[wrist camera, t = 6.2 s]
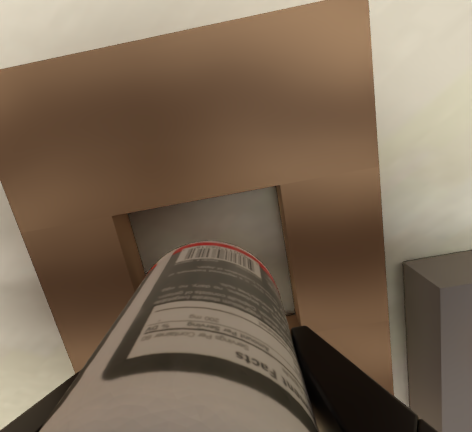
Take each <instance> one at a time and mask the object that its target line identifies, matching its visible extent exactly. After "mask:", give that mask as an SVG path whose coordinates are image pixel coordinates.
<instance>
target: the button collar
mask: <svg viewBox="0 0 472 432" xmlns="http://www.w3.org/2000/svg"><path fill="white" fill-rule="evenodd" d="M403 275H404V296H405V316H406V337H407V358H408V379H409V400H410V409H411V410H412V411H413V412H414V413H416V414H417V415H418V417H419V419H423V420H425V421H426V422H427V423H428V424H429V425H431V426H432V427H433V428H434V429H436V430H437V431H438V432H472V250H470V251H464V252H458V253H452V254H446V255H440V256H434V257H428V258H422V259H417V260H411V261H405V262H403Z"/></svg>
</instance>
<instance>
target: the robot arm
mask: <svg viewBox="0 0 472 432" xmlns="http://www.w3.org/2000/svg"><path fill="white" fill-rule="evenodd" d="M291 336H292V341H293V345H294V348H295V351H296V355H297V358H298V361H299V365H300V368H301V371H302V374H303V378H304V381H305V385H306V388H307V392H308V395H309V399H310V402H311V406H312V410H313V413H314V416H315V420H316V423H317V427H318V430H319V432H438V431H437V430H436V429H434V428H433V427H432V426H431V425H429V424H428V423H427V422H426V421H425V420H423V419H419V417H418V415H417V414H416V413H414V412H413V411H412V410H411V409H409V408H408V407H407V406H406V405H404V404H403V403H402V402H401V401H399V400H398V399H397V398H396V397H394V396H393V395H392V394H391V393H390V392H388V391H387V390H386V389H385V388H383V387H382V386H381V385H380V384H378V383H377V382H376V381H375V380H373V379H372V378H371V377H370V376H368V375H367V374H366V373H365V372H363V371H362V370H361V369H360V368H359V367H357V366H356V365H355V364H354V363H352V362H351V361H350V360H349V359H347V358H346V357H345V356H344V355H342V354H341V353H340V352H339V351H337V350H336V349H335V348H334V347H332V346H331V345H330V344H329V343H328V342H326V341H325V340H324V339H323V338H321V337H320V336H319V335H318V334H316V333H315V332H314V331H313V330H311V329H310V328H309V327H308V326H305V325H304V326H298V327H292V328H291ZM81 370H82V369H81ZM81 370H80V371H81ZM80 371H79V372H77V373H76V374H75V375H73V376H72V377H71V378H69V379H68V380H67V381H65V382H64V383H63V384H61V385H60V386H59V387H57V388H56V389H55V390H53V391H52V392H51V393H49V394H48V395H47V396H45V397H44V398H43V399H41V400H40V401H39V402H37V403H36V404H35V405H33V406H32V407H31V408H29V409H28V410H27V411H25V412H24V413H23V414H21V415H20V416H19V417H17V418H16V419H15V420H13V421H12V422H11V423H9V424H8V425H7V426H6V427H4V428H3V429H2V430H0V432H39V431H40V429H41V427H42V426H43V424H44V423H45V421H46V419H47V418H48V417H49V415H50V414H51V412H52V411H53V410H54V408H55V407H56V405H57V404H58V403H59V401H60V400H61V398H62V397H63V396H64V394H65V393H66V391H67V390H68V389H69V387H70V386H71V384H72V383H73V381H74V380H75V379H76V377H77V376H78V374H79V373H80Z"/></svg>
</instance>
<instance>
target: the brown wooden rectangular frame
mask: <svg viewBox="0 0 472 432" xmlns="http://www.w3.org/2000/svg"><path fill="white" fill-rule="evenodd" d="M0 181H1V183H2V186H3V188H4V191H5V194H6V196H7V199H8V201H9V204H10V206H11V209H12V212H13V214H14V217H15V219H16V222H17V224H18V227H19V230H20V232H21V235H22V237H23V240H24V242H25V245H26V248H27V250H28V253H29V255H30V258H31V260H32V263H33V266H34V268H35V271H36V273H37V276H38V278H39V281H40V284H41V286H42V289H43V291H44V294H45V296H46V299H47V302H48V304H49V307H50V309H51V312H52V314H53V317H54V320H55V322H56V325H57V327H58V330H59V332H60V335H61V338H62V340H63V343H64V345H65V348H66V350H67V353H68V356H69V358H70V361H71V363H72V366H73V368H74V371H75V374H76V373H77V372H79V371H80V370H81V369H82V368H83V367H84V365H85V364H86V362H87V361H88V360H89V358H90V357H91V355H92V354H93V352H94V351H95V349H96V348H97V347H98V345H99V344H100V342H101V341H102V339H103V338H104V336H105V335H106V334H107V332H108V331H109V329H110V328H111V326H112V325H113V323H114V322H115V321H116V319H117V318H118V316H119V315H120V313H121V312H122V310H123V309H124V308H125V306H126V305H127V303H128V302H129V300H130V299H131V297H132V296H133V294H134V293H135V291H136V290H137V288H138V287H139V286H140V284H141V283H142V281H143V279H144V278H145V272H144V269H143V265H142V262H141V258H140V255H139V251H138V248H137V245H136V241H135V238H134V234H133V231H132V227H131V224H130V220H129V217H128V213H131V212H137V211H142V210H148V209H153V208H158V207H164V206H169V205H175V204H180V203H185V202H191V201H196V200H202V199H207V198H212V197H218V196H223V195H229V194H234V193H239V192H245V191H250V190H256V189H261V188H266V187H272V186H276V189H277V196H278V202H279V209H280V215H281V222H282V228H283V235H284V241H285V248H286V254H287V261H288V267H289V274H290V280H291V287H292V293H293V300H294V306H295V313H296V314H295V315H289V316H286V318H287V322H288V325H289V329H290V333H291V328H292V327H298V326H304V325H305V326H308V327H309V328H310V329H311V330H313V331H314V332H315V333H316V334H318V335H319V336H320V337H321V338H323V339H324V340H325V341H326V342H328V343H329V344H330V345H331V346H332V347H334V348H335V349H336V350H337V351H339V352H340V353H341V354H342V355H344V356H345V357H346V358H347V359H349V360H350V361H351V362H352V363H354V364H355V365H356V366H357V367H359V368H360V369H361V370H362V371H363V372H365V373H366V374H367V375H368V376H370V377H371V378H372V379H373V380H375V381H376V382H377V383H378V384H380V385H381V386H382V387H383V388H385V389H386V390H387V391H388V392H390V393H391V394H392V395H393V396H394V391H393V376H392V360H391V345H390V329H389V314H388V298H387V282H386V267H385V251H384V236H383V220H382V205H381V189H380V174H379V158H378V142H377V127H376V111H375V96H374V80H373V65H372V49H371V34H370V18H369V3H368V0H324V1H320V2H315V3H310V4H306V5H301V6H296V7H291V8H287V9H282V10H277V11H273V12H268V13H263V14H259V15H254V16H249V17H245V18H240V19H235V20H230V21H226V22H221V23H216V24H212V25H207V26H202V27H198V28H193V29H188V30H183V31H179V32H174V33H169V34H165V35H160V36H155V37H151V38H146V39H141V40H137V41H132V42H127V43H122V44H118V45H113V46H108V47H104V48H99V49H94V50H90V51H85V52H80V53H75V54H71V55H66V56H61V57H57V58H52V59H47V60H43V61H38V62H33V63H28V64H24V65H19V66H14V67H10V68H5V69H0ZM291 337H292V336H291Z"/></svg>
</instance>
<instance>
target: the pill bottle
mask: <svg viewBox="0 0 472 432" xmlns="http://www.w3.org/2000/svg"><path fill="white" fill-rule="evenodd" d="M39 432H319V430H318V427H317V423H316V420H315V416H314V413H313V410H312V406H311V402H310V399H309V395H308V392H307V388H306V385H305V381H304V378H303V374H302V371H301V368H300V365H299V361H298V358H297V355H296V351H295V348H294V345H293V341H292V337H291V333H290V329H289V325H288V322H287V318H286V315H285V312H284V308H283V305H282V302H281V298H280V294H279V291H278V289H277V286H276V284H275V281H274V279H273V277H272V276H271V274H270V272H269V271H268V270H267V268H266V267H265V266H264V265H263V263H262V262H261V261H259V260H258V259H257V258H256V257H255V256H254V255H252V254H251V253H249V252H248V251H246V250H244V249H242V248H240V247H237V246H235V245H232V244H229V243H224V242H219V241H200V242H194V243H190V244H187V245H184V246H181V247H178V248H176V249H174V250H172V251H171V252H169V253H167V254H166V255H165V256H163V257H162V258H161V259H160V260H159V261H158V262H157V263H156V264H155V265H154V266H153V267H152V268H151V270H150V271H149V272H148V273H147V275H146V276H145V278H144V279H143V281H142V283H141V284H140V286H139V287H138V288H137V290H136V291H135V293H134V294H133V296H132V297H131V299H130V300H129V302H128V303H127V305H126V306H125V308H124V309H123V310H122V312H121V313H120V315H119V316H118V318H117V319H116V321H115V322H114V323H113V325H112V326H111V328H110V329H109V331H108V332H107V334H106V335H105V336H104V338H103V339H102V341H101V342H100V344H99V345H98V347H97V348H96V349H95V351H94V352H93V354H92V355H91V357H90V358H89V360H88V361H87V362H86V364H85V365H84V367H83V368H82V370H81V371H80V373H79V374H78V376H77V377H76V379H75V380H74V381H73V383H72V384H71V386H70V387H69V389H68V390H67V391H66V393H65V394H64V396H63V397H62V398H61V400H60V401H59V403H58V404H57V405H56V407H55V408H54V410H53V411H52V412H51V414H50V415H49V417H48V418H47V419H46V421H45V423H44V424H43V426H42V427H41V429H40V431H39Z"/></svg>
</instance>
